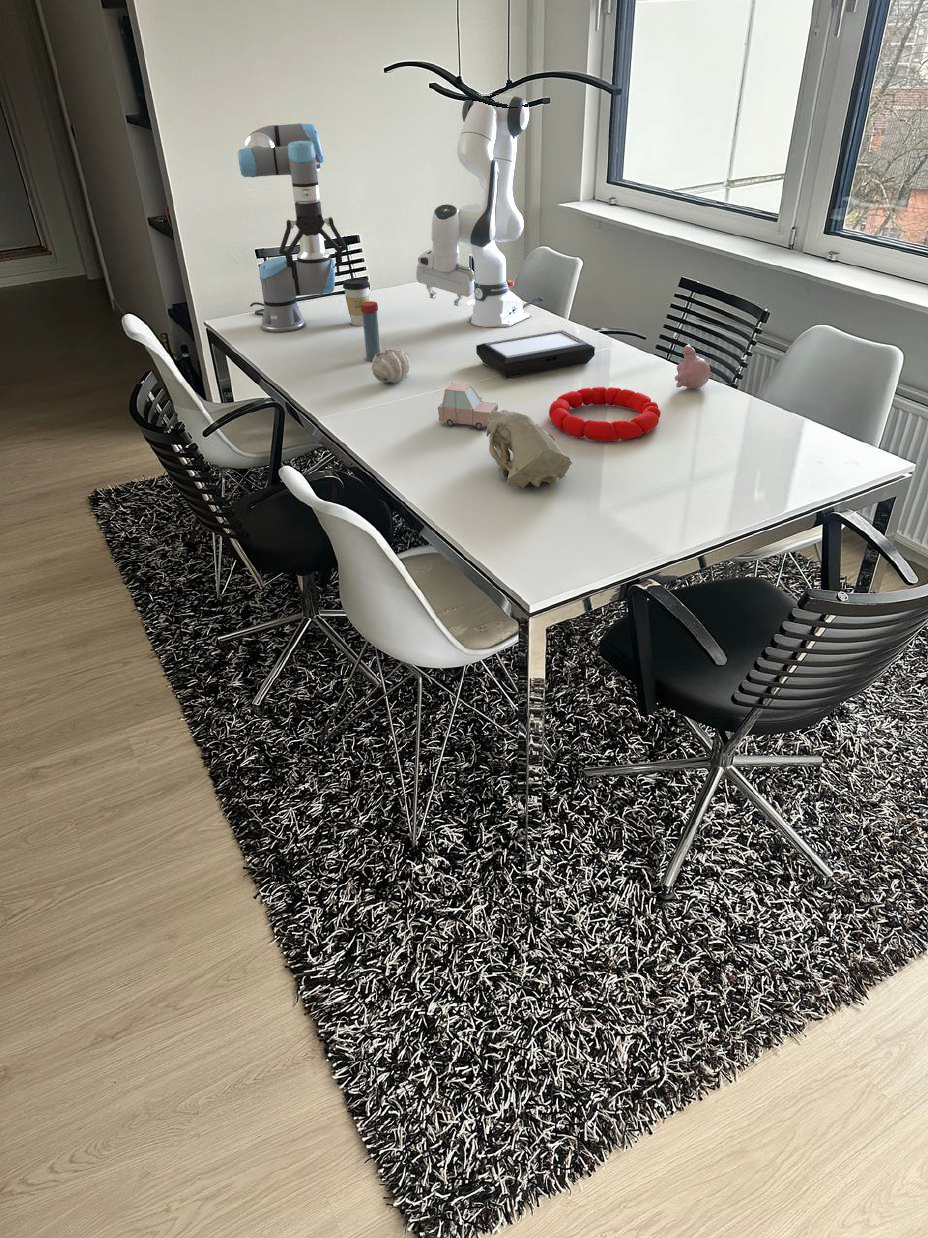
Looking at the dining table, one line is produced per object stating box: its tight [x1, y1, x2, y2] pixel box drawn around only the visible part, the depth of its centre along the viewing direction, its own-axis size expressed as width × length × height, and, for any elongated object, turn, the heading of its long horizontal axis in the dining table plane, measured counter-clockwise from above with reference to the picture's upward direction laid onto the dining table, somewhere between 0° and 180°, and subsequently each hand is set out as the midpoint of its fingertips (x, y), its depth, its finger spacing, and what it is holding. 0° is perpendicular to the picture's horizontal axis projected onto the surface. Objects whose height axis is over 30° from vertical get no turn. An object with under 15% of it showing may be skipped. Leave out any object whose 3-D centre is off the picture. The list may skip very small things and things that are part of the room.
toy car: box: [437, 382, 499, 431], centre depth 243 cm, size 9×15×10 cm, turn 70°
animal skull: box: [485, 409, 573, 489], centre depth 216 cm, size 17×25×20 cm
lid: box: [360, 300, 379, 313], centre depth 284 cm, size 6×6×2 cm
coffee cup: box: [342, 277, 371, 327], centre depth 323 cm, size 10×10×15 cm
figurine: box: [674, 344, 711, 390], centre depth 259 cm, size 9×11×12 cm
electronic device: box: [475, 329, 596, 379], centre depth 283 cm, size 32×6×20 cm
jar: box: [362, 311, 381, 362], centre depth 289 cm, size 5×5×17 cm
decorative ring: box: [548, 386, 661, 442], centre depth 242 cm, size 7×30×30 cm
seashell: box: [371, 349, 411, 384], centre depth 271 cm, size 10×15×10 cm
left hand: (316, 276), depth 273 cm, fingers open, 13 cm apart
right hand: (445, 301), depth 294 cm, fingers open, 8 cm apart
